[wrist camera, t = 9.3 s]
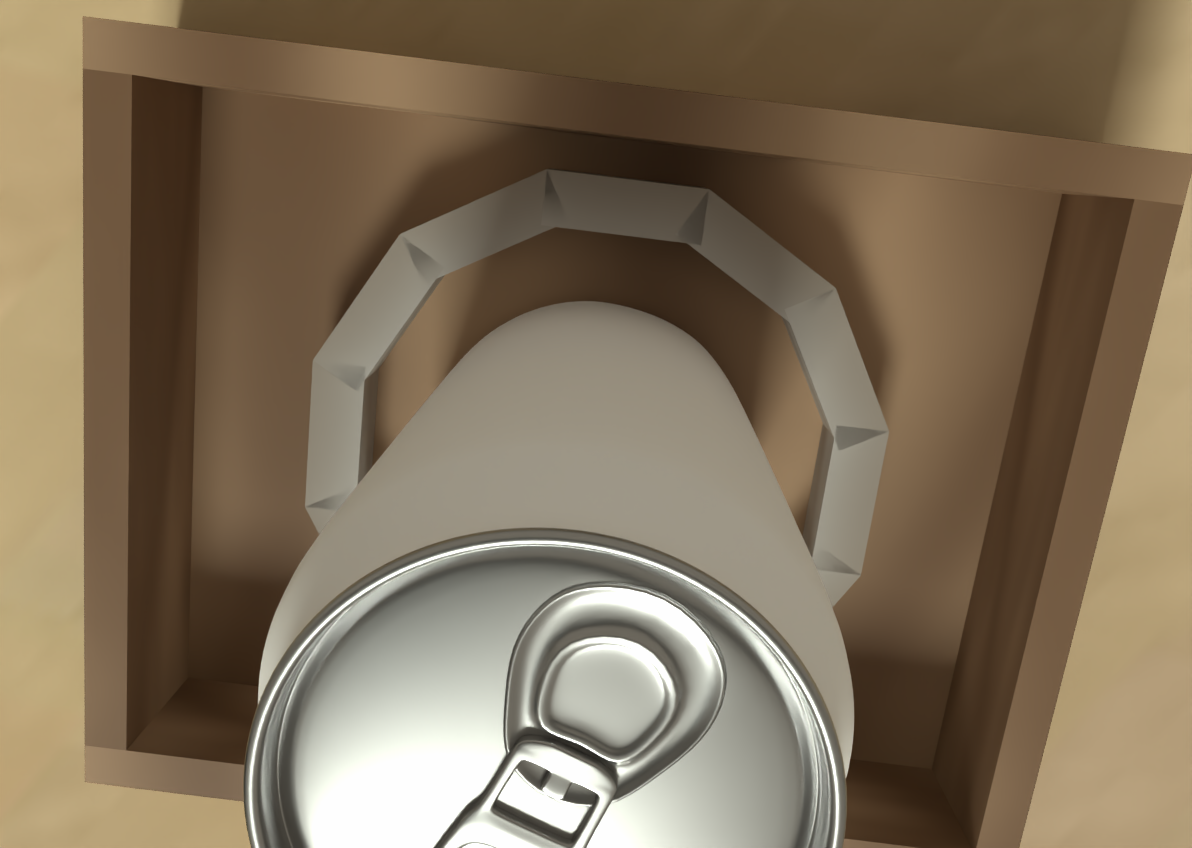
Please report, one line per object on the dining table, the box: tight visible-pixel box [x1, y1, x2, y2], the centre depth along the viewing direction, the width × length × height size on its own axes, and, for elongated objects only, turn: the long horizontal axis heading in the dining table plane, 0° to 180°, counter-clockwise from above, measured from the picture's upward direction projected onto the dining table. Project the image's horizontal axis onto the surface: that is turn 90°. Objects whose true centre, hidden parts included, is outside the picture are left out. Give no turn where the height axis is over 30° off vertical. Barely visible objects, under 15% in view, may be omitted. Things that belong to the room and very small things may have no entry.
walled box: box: [83, 16, 1192, 848], centre depth 20 cm, size 18×14×4 cm
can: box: [243, 301, 854, 848], centre depth 15 cm, size 6×6×12 cm
